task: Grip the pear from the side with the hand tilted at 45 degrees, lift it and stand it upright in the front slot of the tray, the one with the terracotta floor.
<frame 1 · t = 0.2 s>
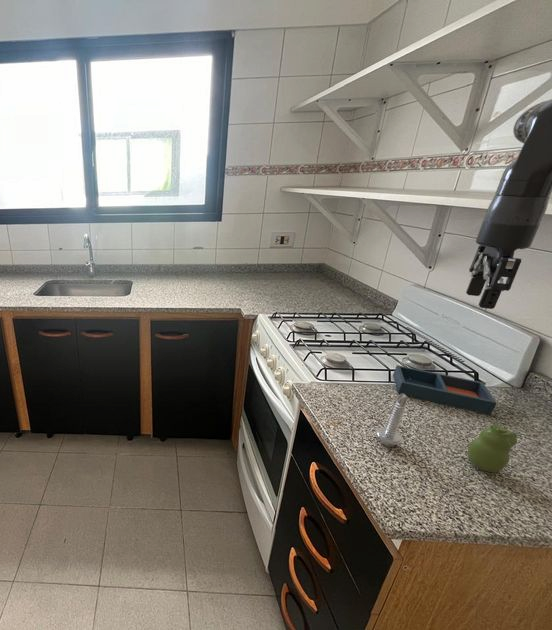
hand: (478, 301, 71), 30 cm above the counter, tool pointing down, fingers open, 8 cm apart
tray: (437, 393, 91), on the counter
screw: (386, 443, 75), on the counter
pear: (481, 467, 69), on the counter
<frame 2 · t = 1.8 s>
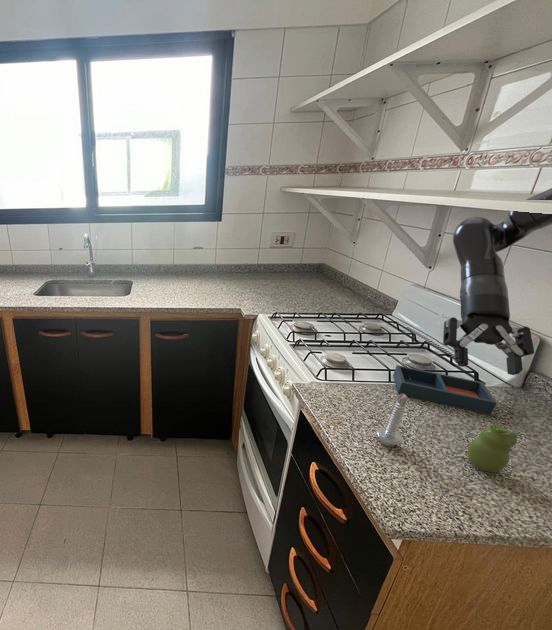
hand: (488, 369, 72), 16 cm above the counter, tool tilted 45°, fingers open, 8 cm apart
nothing on the counter moved.
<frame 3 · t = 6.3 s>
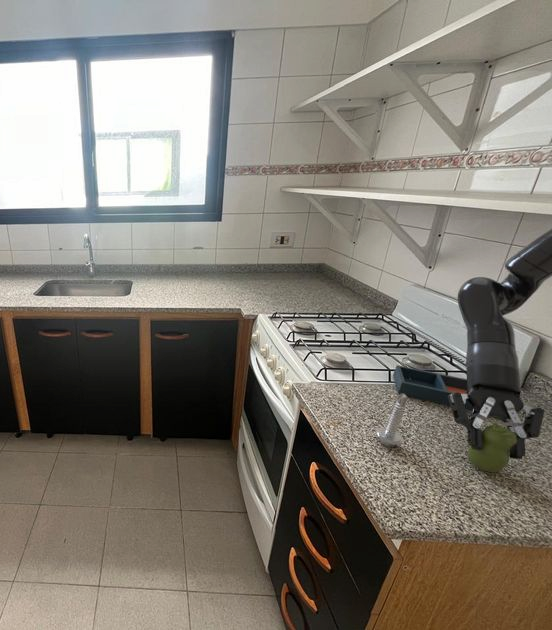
hand: (496, 453, 65), 5 cm above the counter, tool tilted 45°, fingers closed on pear, 5 cm apart
pear: (481, 467, 69), on the counter, touching gripper
everything else where it was.
when the fingers open (6 cm above the counter, at t = 15.6 s): pear stays where it is, resting on tray.
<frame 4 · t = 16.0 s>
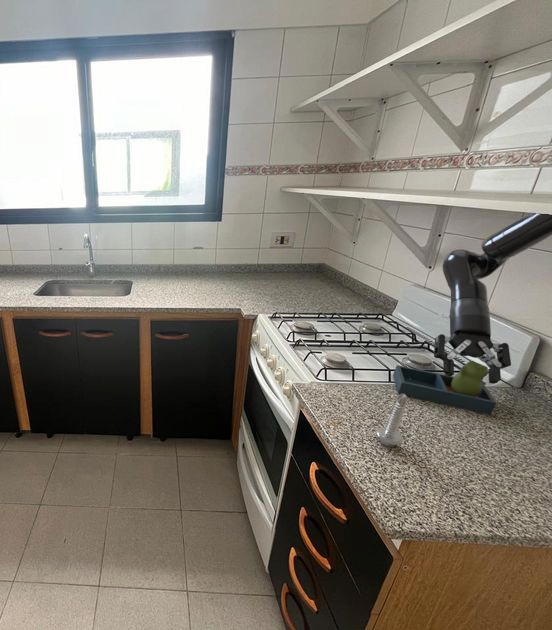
hand: (471, 379, 85), 7 cm above the counter, tool tilted 45°, fingers open, 8 cm apart
pear: (461, 396, 89), point 1 cm above the counter, touching tray
everything else where it was.
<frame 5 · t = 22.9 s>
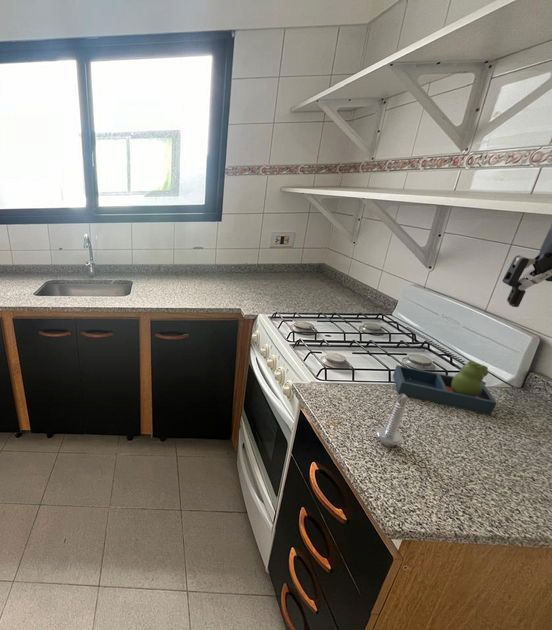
hand: (540, 308, 71), 28 cm above the counter, tool pointing down, fingers open, 8 cm apart
nothing on the counter moved.
at the end: pear 0.4 cm from the target spot in the tray, point 0.6 cm above the tray's base; pear tilted 0°; the gripper is holding nothing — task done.
